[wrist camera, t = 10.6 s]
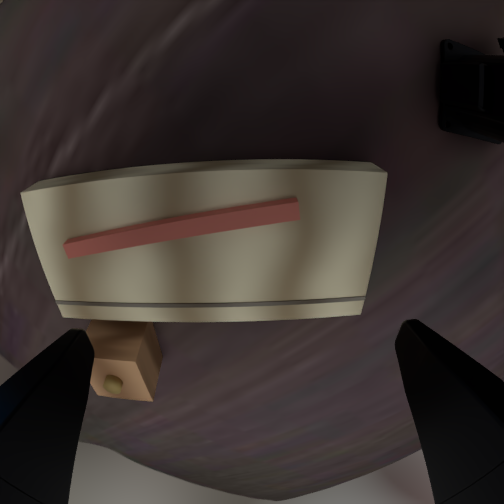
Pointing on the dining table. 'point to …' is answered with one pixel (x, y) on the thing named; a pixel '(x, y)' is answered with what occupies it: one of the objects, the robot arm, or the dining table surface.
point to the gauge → (125, 359)
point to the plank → (212, 241)
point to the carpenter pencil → (185, 227)
